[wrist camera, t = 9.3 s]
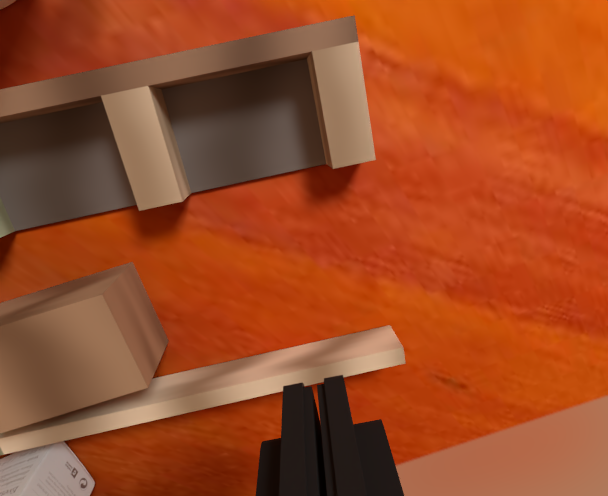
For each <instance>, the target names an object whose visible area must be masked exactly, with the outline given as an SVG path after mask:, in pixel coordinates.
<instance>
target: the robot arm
mask: <svg viewBox="0 0 608 496" xmlns="http://www.w3.org/2000/svg"><path fill="white" fill-rule="evenodd" d="M317 389H318V400H319V411H320V420H319V416H318V412H317V407H316V403H315V399H314V394H313V390H312V387H311V386H310V387H304V384H303V382H302V383H297V384H291V385H286V386H283V404H282V431H281V438H278V439H273V440H268V441H263V442H262V443H261V449H260V459H259V469H258V479H257V489H256V496H404V494H403V490H402V487H401V483H400V480H399V477H398V473H397V470H396V467H395V463H394V460H393V456H392V453H391V450H390V446H389V443H388V440H387V436H386V433H385V429H384V426H383V423H382V420H381V419H380V420H375V421H370V422H364V423H359V424H354V425H353V422H352V417H351V412H350V407H349V402H348V397H347V392H346V387H345V383H344V378H343V375H339V376H333V377H328V378H324V384H321V385H317ZM320 422H321V425H320Z"/></svg>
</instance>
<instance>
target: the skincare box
mask: <svg viewBox="0 0 608 496" xmlns="http://www.w3.org/2000/svg"><path fill="white" fill-rule="evenodd" d="M94 485H95V482H94V480H93V478H92V477H91V475H90V474H89V472H88V471H87V470H86V468H85V467H84V465H83V464H82V463H81V462H80V461H79V459H78V458H77V457H76V455H75V454H74V453H73V452H72V450H71V449H70V448H69V447H68V446H67V444H66V443H65V442H64V441H61V442H57V443H53V444H48V445H44V446H39V447H35V448H31V449H26V450H22V451H18V452H15V453H13V454H11V455H9V456H6V457H4V458H2V459H0V496H90V494H91V492H92V490H93V488H94Z"/></svg>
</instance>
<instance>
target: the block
mask: <svg viewBox="0 0 608 496" xmlns="http://www.w3.org/2000/svg"><path fill="white" fill-rule="evenodd" d="M167 344H168V339H167V336H166V334H165V332H164V330H163V328H162V325H161V323H160V321H159V319H158V317H157V314H156V312H155V310H154V308H153V306H152V303H151V301H150V299H149V297H148V295H147V292H146V290H145V288H144V286H143V284H142V282H141V279H140V277H139V275H138V273H137V271H136V268H135V266H134V264H133V262H130V263H127V264H124V265H121V266H118V267H114V268H111V269H108V270H105V271H102V272H98V273H95V274H92V275H89V276H86V277H82V278H79V279H76V280H73V281H69V282H66V283H63V284H60V285H57V286H53V287H50V288H47V289H44V290H41V291H37V292H34V293H31V294H28V295H25V296H21V297H18V298H15V299H12V300H8V301H5V302H2V303H0V433H4V432H7V431H10V430H13V429H17V428H20V427H23V426H26V425H29V424H33V423H36V422H39V421H42V420H46V419H49V418H52V417H55V416H58V415H62V414H65V413H68V412H71V411H75V410H78V409H81V408H84V407H88V406H91V405H94V404H97V403H100V402H104V401H107V400H110V399H113V398H117V397H120V396H123V395H126V394H129V393H133V392H136V391H139V390H142V389H146V388H148V387H149V385H150V383H151V380H152V378H153V376H154V373H155V371H156V369H157V367H158V364H159V362H160V360H161V357H162V355H163V353H164V351H165V348H166V346H167Z"/></svg>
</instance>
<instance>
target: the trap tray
mask: <svg viewBox="0 0 608 496" xmlns="http://www.w3.org/2000/svg"><path fill="white" fill-rule="evenodd" d="M372 160H376V159H375V152H374V145H373V138H372V131H371V125H370V118H369V111H368V104H367V97H366V91H365V84H364V77H363V70H362V63H361V57H360V50H359V43H358V36H357V29H356V23H355V16H350V17H345V18H340V19H335V20H331V21H326V22H321V23H316V24H311V25H307V26H302V27H297V28H292V29H287V30H283V31H278V32H273V33H268V34H263V35H259V36H254V37H249V38H244V39H240V40H235V41H230V42H225V43H220V44H216V45H211V46H206V47H201V48H196V49H192V50H187V51H182V52H177V53H173V54H168V55H163V56H158V57H153V58H149V59H144V60H139V61H134V62H129V63H125V64H120V65H115V66H110V67H105V68H101V69H96V70H91V71H86V72H82V73H77V74H72V75H67V76H62V77H58V78H53V79H48V80H43V81H38V82H34V83H29V84H24V85H19V86H15V87H10V88H5V89H0V238H1V237H3V236H5V235H7V234H10V233H12V232H14V231H18V230H22V229H27V228H32V227H36V226H41V225H46V224H50V223H55V222H60V221H64V220H69V219H73V218H78V217H83V216H87V215H92V214H97V213H101V212H106V211H110V210H115V209H120V208H124V207H129V206H134V205H137V206H138V209H139V211H141V210H146V209H150V208H155V207H160V206H164V205H169V204H174V203H178V202H183V201H184V200H185V199H186V198H187V197H188V196H189V195H190V194H191V193H194V192H198V191H203V190H208V189H212V188H217V187H221V186H226V185H231V184H235V183H240V182H245V181H249V180H254V179H258V178H263V177H268V176H272V175H277V174H282V173H286V172H291V171H295V170H300V169H305V168H309V167H314V166H319V165H323V164H327V165H328V166H330V167H331V168H332V169H335V168H340V167H344V166H349V165H354V164H358V163H363V162H368V161H372ZM400 364H405V356H404V349H403V346H402V344H401V343H400V341H399V339H398V338H397V336H396V334H395V333H394V331H393V329H392V328H391V326H390V325H389V326H384V327H380V328H375V329H371V330H367V331H362V332H358V333H353V334H349V335H344V336H340V337H335V338H331V339H327V340H322V341H318V342H313V343H309V344H304V345H300V346H295V347H291V348H287V349H282V350H278V351H273V352H269V353H264V354H260V355H255V356H251V357H247V358H242V359H238V360H233V361H229V362H224V363H220V364H215V365H211V366H207V367H202V368H198V369H193V370H189V371H184V372H180V373H175V374H171V375H167V376H162V377H158V378H153V379H152V380H151V383H150V385H149V387H148V388H146V389H142V390H139V391H136V392H133V393H129V394H126V395H123V396H120V397H117V398H113V399H110V400H107V401H104V402H100V403H97V404H94V405H91V406H88V407H84V408H81V409H78V410H75V411H71V412H68V413H65V414H62V415H58V416H55V417H52V418H49V419H46V420H42V421H39V422H36V423H33V424H29V425H26V426H23V427H20V428H17V429H13V430H10V431H7V432H4V433H0V455H4V454H9V453H13V452H17V451H22V450H26V449H31V448H35V447H39V446H44V445H48V444H53V443H57V442H61V441H66V440H70V439H75V438H79V437H83V436H88V435H92V434H97V433H101V432H105V431H110V430H114V429H119V428H123V427H127V426H132V425H136V424H141V423H145V422H149V421H154V420H158V419H163V418H167V417H171V416H176V415H180V414H185V413H189V412H193V411H198V410H202V409H207V408H211V407H215V406H220V405H224V404H229V403H233V402H237V401H242V400H246V399H251V398H255V397H259V396H264V395H268V394H273V393H277V392H281V391H283V386H286V385H291V384H297V383H302V382H303V384H304V386H308V385H312V384H317V383H321V382H324V378H328V377H333V376H339V375H343V377H347V376H352V375H356V374H361V373H365V372H369V371H374V370H378V369H383V368H387V367H391V366H396V365H400Z"/></svg>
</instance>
